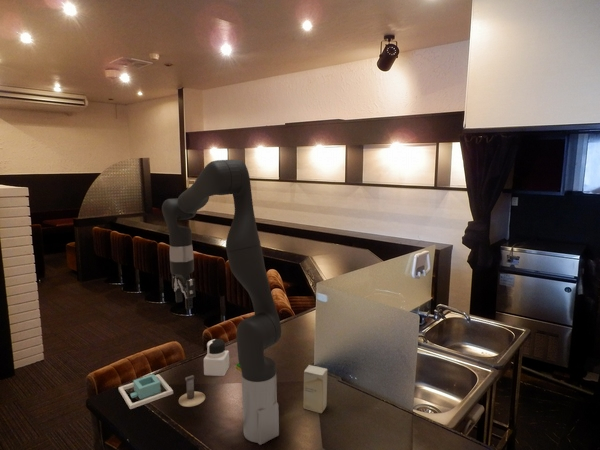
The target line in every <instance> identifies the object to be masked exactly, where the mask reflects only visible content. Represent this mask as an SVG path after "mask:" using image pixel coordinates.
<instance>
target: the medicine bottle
mask: <svg viewBox="0 0 600 450" xmlns="http://www.w3.org/2000/svg"><path fill="white" fill-rule="evenodd" d="M225 345H226V341H224V340H223V339H222V338H221V339H220V338H214V339H211V340H209V341H208V342H207V343H206V348H207V351H206V352H207V354H205V356H204V358H203V359H202V360H203V375H204V376H212V377H213V376H215V377H218V376H219V377H224V376H225V375H226V373H227V372H228V370H229V368H230V351H229V350H226V346H225Z"/></svg>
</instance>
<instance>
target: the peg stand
mask: <svg viewBox="0 0 600 450" xmlns="http://www.w3.org/2000/svg"><path fill="white" fill-rule="evenodd" d="M194 379H195V375H194V374H192V375H189V376H186V377H185V378H184V380H185V383H186V393H184V394H182V395H181V396H180V397H179V399H178V404H179V405H180V406H182V407H187V408H191V407H195V406H198V405H200V404H202V403H203V402H204V401H205V399H206V395H205V394H204V393H203V392H201V391H195V383H194Z"/></svg>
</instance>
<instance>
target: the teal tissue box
mask: <svg viewBox="0 0 600 450" xmlns="http://www.w3.org/2000/svg"><path fill="white" fill-rule="evenodd" d="M132 381H133V382H132V383H134V387H133V390H134V391H133V392H131V393H130V394H129V395H130V397H131V399H134V398H136V397H138V399H139V400H143V399H146V398H149V397H152V396H154V395H157V394H160V393H162V391H161V390H162V388H161V383H160V381H159V380H158V379H157V378H156V376H155V373H152V374H149V375H146V376H144V377H139V378H137V379H133V380H132Z"/></svg>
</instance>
